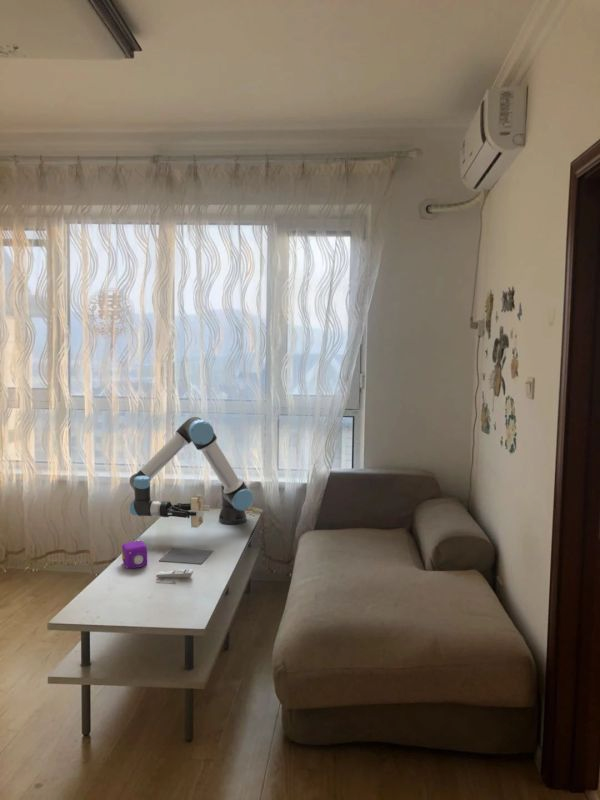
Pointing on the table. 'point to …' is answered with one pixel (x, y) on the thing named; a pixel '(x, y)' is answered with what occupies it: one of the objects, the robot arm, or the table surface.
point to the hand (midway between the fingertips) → (206, 511)
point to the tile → (196, 505)
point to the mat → (186, 556)
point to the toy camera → (134, 554)
